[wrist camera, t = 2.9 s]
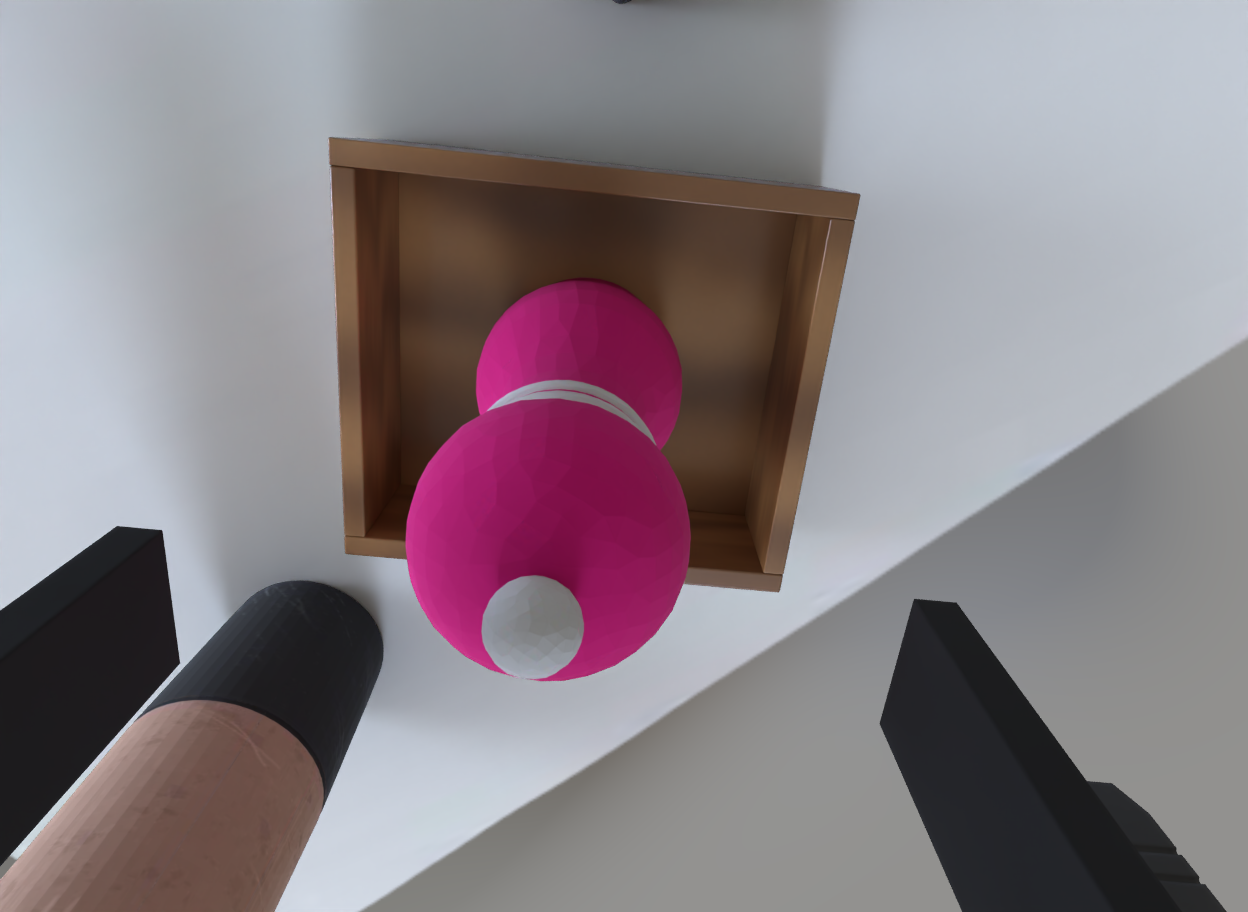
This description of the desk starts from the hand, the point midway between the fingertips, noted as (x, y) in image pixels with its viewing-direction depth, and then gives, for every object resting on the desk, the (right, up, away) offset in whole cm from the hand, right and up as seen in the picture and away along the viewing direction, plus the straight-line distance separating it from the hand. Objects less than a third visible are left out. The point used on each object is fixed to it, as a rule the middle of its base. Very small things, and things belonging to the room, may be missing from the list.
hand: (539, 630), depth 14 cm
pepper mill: (0, +7, +18) cm, 19 cm away
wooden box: (0, +7, +18) cm, 19 cm away
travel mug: (-14, -6, +23) cm, 28 cm away
